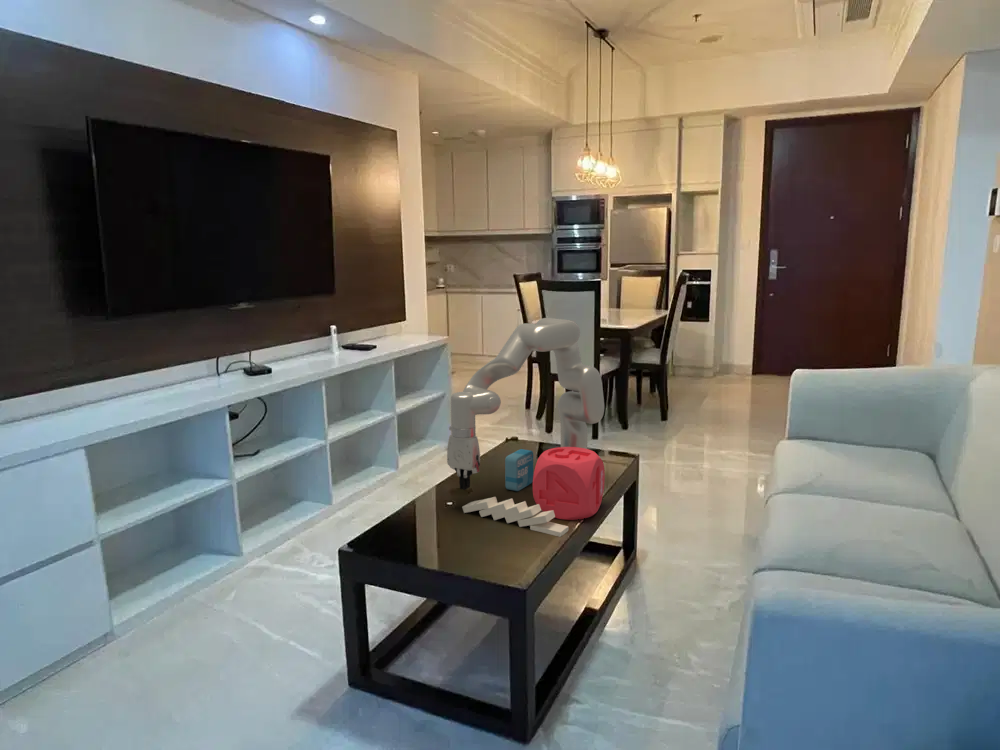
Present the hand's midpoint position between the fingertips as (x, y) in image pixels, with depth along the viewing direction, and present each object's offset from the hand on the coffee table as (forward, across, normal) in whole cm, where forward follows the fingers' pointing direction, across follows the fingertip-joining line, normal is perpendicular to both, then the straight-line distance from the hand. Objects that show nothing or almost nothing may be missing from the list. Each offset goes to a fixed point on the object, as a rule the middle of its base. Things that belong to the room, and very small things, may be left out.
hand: (464, 488), depth 210 cm
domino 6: (+7, +25, 0) cm, 26 cm away
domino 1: (+6, +1, 0) cm, 6 cm away
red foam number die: (+7, +28, +17) cm, 34 cm away
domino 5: (+6, +21, 0) cm, 22 cm away
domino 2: (+6, +8, 0) cm, 10 cm away
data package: (+7, +3, +27) cm, 28 cm away
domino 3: (+6, +12, 0) cm, 14 cm away
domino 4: (+6, +17, 0) cm, 18 cm away
